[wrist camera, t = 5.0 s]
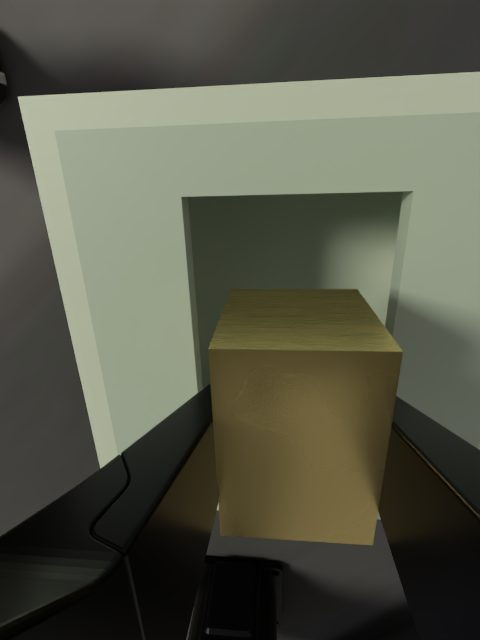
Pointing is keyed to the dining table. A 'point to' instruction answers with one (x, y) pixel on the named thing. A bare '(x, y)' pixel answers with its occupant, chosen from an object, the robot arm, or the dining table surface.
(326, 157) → the open box
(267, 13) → the dining table surface
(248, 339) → the khaki wooden block
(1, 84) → the battery charger
